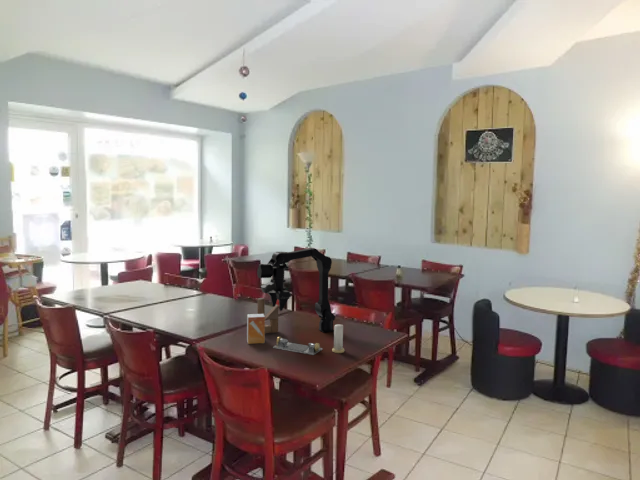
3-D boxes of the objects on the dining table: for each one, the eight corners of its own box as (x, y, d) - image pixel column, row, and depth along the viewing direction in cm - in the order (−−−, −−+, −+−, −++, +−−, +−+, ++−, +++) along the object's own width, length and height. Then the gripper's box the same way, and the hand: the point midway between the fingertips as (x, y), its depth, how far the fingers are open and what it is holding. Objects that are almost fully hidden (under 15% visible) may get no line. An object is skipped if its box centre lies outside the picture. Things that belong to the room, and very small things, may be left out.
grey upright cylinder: (340, 348, 218) (341, 323, 217) (346, 352, 213) (347, 326, 212) (330, 350, 216) (330, 324, 215) (335, 353, 211) (335, 327, 210)
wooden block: (278, 332, 243) (278, 298, 241) (258, 334, 239) (258, 299, 237) (276, 330, 246) (276, 296, 244) (256, 332, 242) (256, 298, 240)
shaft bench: (273, 347, 218) (273, 339, 217) (282, 342, 226) (283, 334, 225) (313, 355, 209) (313, 346, 208) (322, 349, 217) (322, 340, 216)
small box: (247, 344, 222) (247, 317, 221) (246, 340, 229) (246, 314, 227) (264, 343, 224) (265, 316, 223) (263, 339, 230) (263, 313, 229)
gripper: (256, 275, 236) (255, 305, 237) (270, 281, 220) (268, 314, 221) (277, 274, 241) (275, 304, 243) (291, 280, 225) (290, 312, 226)
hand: (277, 308), depth 233 cm, fingers open, 9 cm apart
